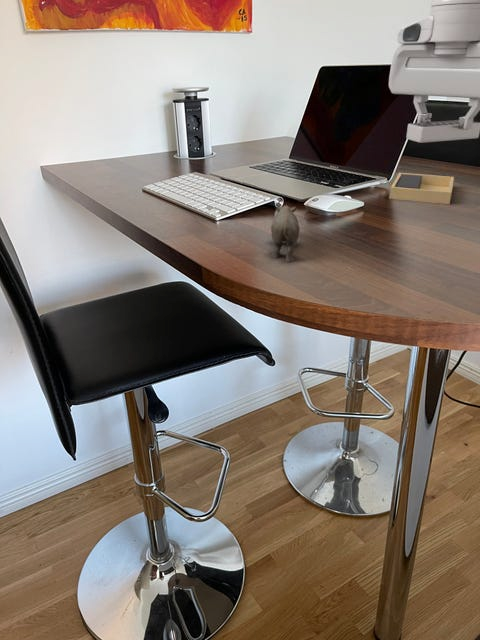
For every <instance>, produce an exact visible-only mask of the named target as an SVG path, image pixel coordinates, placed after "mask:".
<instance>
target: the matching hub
mask: <svg viewBox="0 0 480 640" xmlns="http://www.w3.org/2000/svg"><path fill="white" fill-rule="evenodd" d="M421 180H422V176H418V175H405V174H403V175H402V177H401V179H400V181H399V183H398V184H397V186H396V187H402V188H413V189H419V188H420V186H421Z"/></svg>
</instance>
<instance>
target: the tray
mask: <svg viewBox="0 0 480 640" xmlns="http://www.w3.org/2000/svg"><path fill="white" fill-rule="evenodd" d="M403 174H405V175H418V176H422V180H421V186H420V188H419V189H413V188H402V187H396V186H397V184H398V183H399V181H400V179H401V177H402V175H403ZM454 180H455V177H454V176H448V175H445V176H444V175H433V174H421V173H407V172H398V174H397V176H396V178H395V179H394V181H393V183H392V185H391V186H390V189H389V190H390V191H389V197H388V199H389V200H401V201H412V202H422V203H431V204H442V205H443V204H444V205H450V203H451V199H452V195H453V194H452V193H453V186H454V182H455V181H454Z"/></svg>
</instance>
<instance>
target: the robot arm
mask: <svg viewBox="0 0 480 640" xmlns="http://www.w3.org/2000/svg"><path fill="white" fill-rule="evenodd" d="M396 41H397V43H398V44H399V46H398V47H397V48H395V50H394V52H393V55H392V59H391V64H390V68H389V69H390V70H389V75H388V88H389V90H390V92H391V94H393V95H410V96H413V102H412V103H413V105H414V108H415V110H416V111H415V112H416V114H417V121H416V123H424V122H432V120H431V119H432V115H433V114H432V112H431V113H430V112H428V110H427V106H426V102H429V97H445V98H463V99H469V100H468V106H469V107H470V109H469V110H468V111H467V113H466V114H465V115H464V116H460V117H459V118H458V120H459V124H458V129H463V130H469V129H471V127H472V123H473V121H474V118H475V117H476V116H477V115H478V113H479V112H480V0H432V1H431V6H430V13H429V15H427V16H425V17H422V18H420V19H418V20H416V21H413V22H412V23H410V24H407V25H405V26H403V27H400V28H399V30H398V31H397V36H396Z"/></svg>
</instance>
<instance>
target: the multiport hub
mask: <svg viewBox="0 0 480 640" xmlns="http://www.w3.org/2000/svg"><path fill="white" fill-rule="evenodd" d="M458 124H459V119H456V120H439V121H431V122H424V123H417V122H413V123H412V122H411V123H408V124H407V129H406V137H405V138H406V140H410V141H412V142H417V143H435V142H446V141H460V140H471V139H479V137H480V122H479V121H474V120H473V123H472V127H471V129H469V130H463V129H458Z"/></svg>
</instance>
